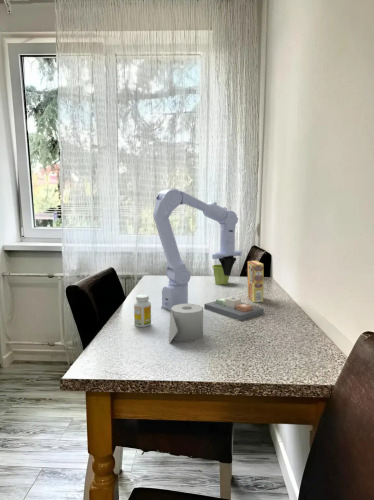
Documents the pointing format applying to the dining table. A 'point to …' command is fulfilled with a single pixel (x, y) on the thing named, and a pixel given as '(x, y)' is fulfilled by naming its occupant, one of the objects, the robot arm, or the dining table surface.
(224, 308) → the keypad
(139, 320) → the supplement bottle
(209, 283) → the dining table surface
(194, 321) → the toilet tissue
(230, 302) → the key ivory
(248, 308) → the key peach
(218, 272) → the plant pot
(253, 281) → the candy box
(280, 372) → the dining table surface
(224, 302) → the key sage
